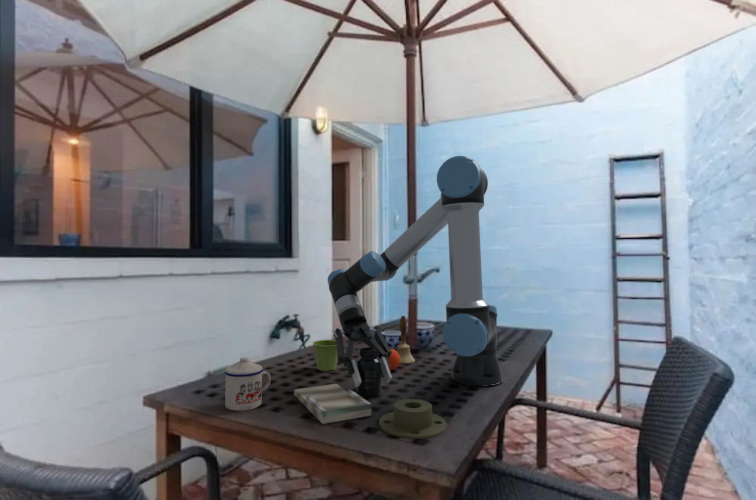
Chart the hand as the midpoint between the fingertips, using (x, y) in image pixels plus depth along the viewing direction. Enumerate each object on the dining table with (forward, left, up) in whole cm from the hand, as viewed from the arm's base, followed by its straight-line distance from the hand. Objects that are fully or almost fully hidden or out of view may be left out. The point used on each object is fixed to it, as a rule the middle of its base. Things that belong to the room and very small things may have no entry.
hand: (374, 382), depth 114 cm
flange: (-16, +12, -5) cm, 21 cm away
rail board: (+7, +11, -4) cm, 13 cm away
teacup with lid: (+25, +20, -4) cm, 32 cm away
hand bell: (+10, -40, -4) cm, 41 cm away
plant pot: (+27, -17, -4) cm, 32 cm away
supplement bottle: (+3, -2, -4) cm, 5 cm away
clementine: (+9, -26, -4) cm, 28 cm away
